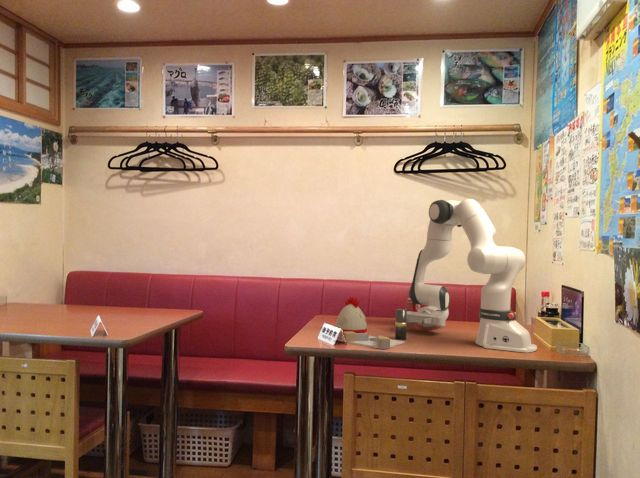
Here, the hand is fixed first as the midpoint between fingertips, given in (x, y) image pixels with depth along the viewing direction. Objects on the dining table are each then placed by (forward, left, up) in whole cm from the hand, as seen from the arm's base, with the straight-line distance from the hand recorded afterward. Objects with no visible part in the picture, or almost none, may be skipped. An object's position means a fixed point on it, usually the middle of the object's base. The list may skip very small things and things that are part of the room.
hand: (413, 319), depth 214 cm
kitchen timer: (+25, +10, -7) cm, 28 cm away
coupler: (0, +11, -7) cm, 13 cm away
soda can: (+15, -29, -7) cm, 34 cm away
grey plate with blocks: (+6, +25, -7) cm, 26 cm away
